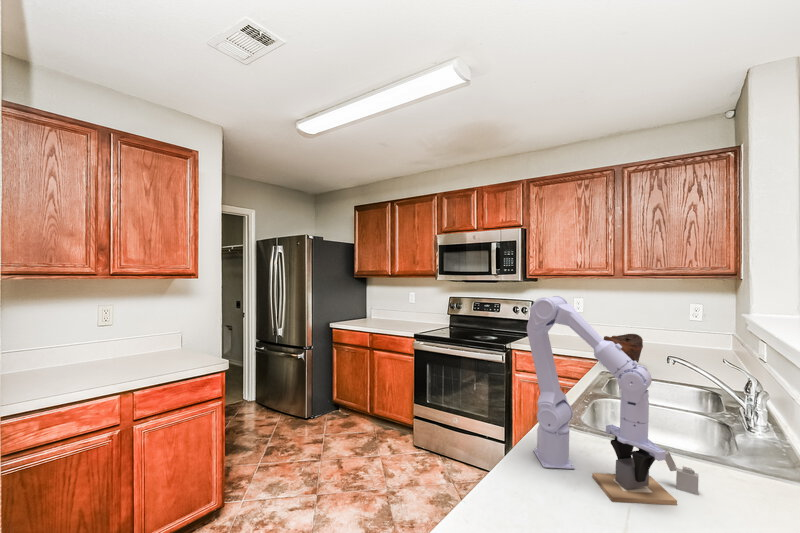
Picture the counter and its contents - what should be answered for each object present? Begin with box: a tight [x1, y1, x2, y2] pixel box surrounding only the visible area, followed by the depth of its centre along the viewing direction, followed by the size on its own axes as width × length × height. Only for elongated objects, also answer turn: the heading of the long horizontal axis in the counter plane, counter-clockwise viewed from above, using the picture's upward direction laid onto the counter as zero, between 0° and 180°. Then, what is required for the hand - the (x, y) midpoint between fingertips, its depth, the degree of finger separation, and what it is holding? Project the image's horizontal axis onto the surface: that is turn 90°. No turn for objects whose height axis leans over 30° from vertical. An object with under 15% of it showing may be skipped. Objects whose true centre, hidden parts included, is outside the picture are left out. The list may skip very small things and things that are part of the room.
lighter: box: [664, 450, 700, 496], centre depth 92 cm, size 7×2×8 cm, turn 53°
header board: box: [591, 472, 678, 506], centre depth 91 cm, size 10×14×3 cm
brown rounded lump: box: [603, 333, 644, 364], centre depth 201 cm, size 18×20×18 cm
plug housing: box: [615, 456, 650, 489], centre depth 91 cm, size 4×6×5 cm, turn 106°
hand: (632, 476), depth 91 cm, fingers closed on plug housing, 4 cm apart
